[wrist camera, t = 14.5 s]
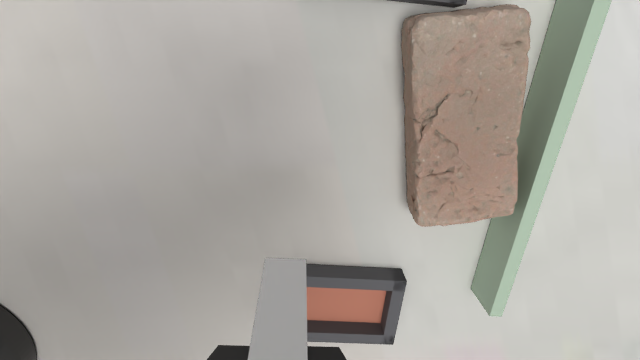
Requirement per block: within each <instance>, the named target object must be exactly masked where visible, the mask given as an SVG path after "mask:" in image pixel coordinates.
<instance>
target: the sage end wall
mask: <svg viewBox="0 0 640 360" xmlns="http://www.w3.org/2000/svg"><path fill="white" fill-rule="evenodd" d="M611 1H612V0H556V3H555V6H554V10H553V13H552V16H551V20H550V23H549V26H548V30H547V33H546V37H545V40H544V43H543V47H542V50H541V53H540V57H539V60H538V63H537V67H536V70H535V74H534V77H533V80H532V84H531V87H530V90H529V94H528V97H527V101H526V104H525V107H524V111H523V114H522V119H521V125H520V132H519V135H518V137H517V140H516V142H517V146H518V155H517V168H518V195H517V202H516V204H515V207H514V211H513V214H511V215H508V216H500V217H494V218H491V222H490V225H489V229H488V232H487V235H486V239H485V242H484V245H483V249H482V252H481V256H480V259H479V262H478V266H477V269H476V272H475V276H474V279H473V282H472V286H471V290H472V291H473V293H474V294H475V296H476V297H477V298H478V300H479V301H480V303H481V304H482V306H483V307H484V309H485V310H486V312H487V313H488V315H489V316H499V317H502V314H503V311H504V308H505V306H506V303H507V300H508V297H509V294H510V291H511V288H512V286H513V283H514V280H515V277H516V274H517V271H518V268H519V265H520V263H521V260H522V257H523V254H524V251H525V248H526V245H527V242H528V240H529V237H530V234H531V231H532V228H533V225H534V222H535V219H536V217H537V214H538V211H539V208H540V205H541V202H542V199H543V197H544V194H545V191H546V188H547V185H548V182H549V179H550V176H551V174H552V171H553V168H554V165H555V162H556V159H557V156H558V153H559V151H560V148H561V145H562V142H563V139H564V136H565V133H566V130H567V128H568V125H569V122H570V119H571V116H572V113H573V110H574V107H575V105H576V102H577V99H578V96H579V93H580V90H581V87H582V85H583V82H584V79H585V76H586V73H587V70H588V67H589V64H590V62H591V59H592V56H593V53H594V50H595V47H596V44H597V41H598V39H599V36H600V33H601V30H602V27H603V24H604V21H605V18H606V16H607V13H608V10H609V7H610V4H611Z"/></svg>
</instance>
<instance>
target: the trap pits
mask: <svg viewBox="0 0 640 360" xmlns="http://www.w3.org/2000/svg"><path fill="white" fill-rule="evenodd" d="M389 1H399V2H409V3H418V4H428V5H437V6H447V7H458V6H462V5H466V2H467V0H389ZM406 282H407V281H406V278H405V276H404V274H403V271H402V269H394V268H374V267H354V266H334V265H315V264H306V286H307V341H308V342H336V343H365V344H393V343H394V338H395V334H396V329H397V324H398V320H399V315H400V310H401V306H402V301H403V296H404V292H405V287H406Z"/></svg>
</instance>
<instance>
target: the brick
mask: <svg viewBox="0 0 640 360" xmlns="http://www.w3.org/2000/svg"><path fill="white" fill-rule="evenodd" d="M530 24H531V19H530V15H529V12H528V11H527V10H525V9H524V8H519V7H518V6H517V5H509V4H506V5H499V6H494V7H489V8H487V7H479V8H476V9H462V10H456V11H452V12H437V13H424V14H419V15H414V16H410V17H408V18H406V19H405V21H404V22H403V28H402V43H401V48H402V61H403V68H404V72H405V84H404V94H403V99H404V104H405V109H406V110H405V117H404V123H405V140H406V144H405V153H406V154H405V158H406V177H407V198H408V199H407V203H408V207H409V210H410V212H411V214H412V216H413V219H414V220H415V222H416V223H417V224H418V225H420V226H424V227H426V226H435V225H441V226H446V225H452V224H462V223H470V222H476V221H479V220H483V219H488V218H494V217H500V216H508V215H511V214H513V211H514V207H515V204H516V202H517V195H518V168H517V155H518V146H517V142H516V140H517V137H518V135H519V132H520V125H521V119H522V112H523V100H524V94H525V87H526V76H527V71H528V56H527V53H528V51H529V49H530V36H529V29H530Z"/></svg>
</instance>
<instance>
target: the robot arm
mask: <svg viewBox="0 0 640 360" xmlns="http://www.w3.org/2000/svg"><path fill="white" fill-rule="evenodd" d="M0 360H36V351H35V347H34V344H33V341H32V339H31V337H30V335H29V333H28V332H27V330H26V329H25V328H24V326H23V325H22V324H21V323H20V322H19V321H18V320H17V319H16V318H15V317H14V316H13V315H12V314H10V313H9V312H8V311H7V310H5V309H4V308H2V307H1V306H0ZM207 360H346V358H345V356H344V355H343V353H342V351H341V350H340V348H339V347H311V346H307V286H306V259H285V258H265V264H264V269H263V275H262V281H261V287H260V292H259V298H258V304H257V309H256V315H255V321H254V326H253V332H252V338H251V343H250V346H228V345H218V346H217V348H216V349H215V350H214V351H213V353H212V354H211V355H210V356H209V358H208V359H207Z"/></svg>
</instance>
